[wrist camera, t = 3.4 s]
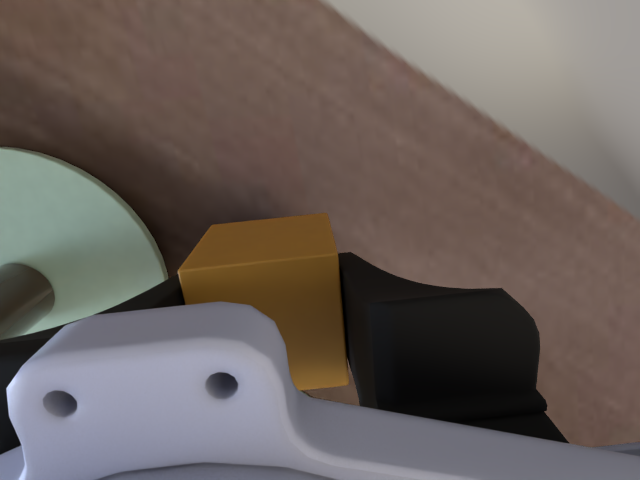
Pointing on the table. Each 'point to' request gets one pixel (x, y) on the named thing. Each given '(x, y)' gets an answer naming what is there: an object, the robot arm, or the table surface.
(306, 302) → the block
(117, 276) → the lid
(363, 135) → the table surface
